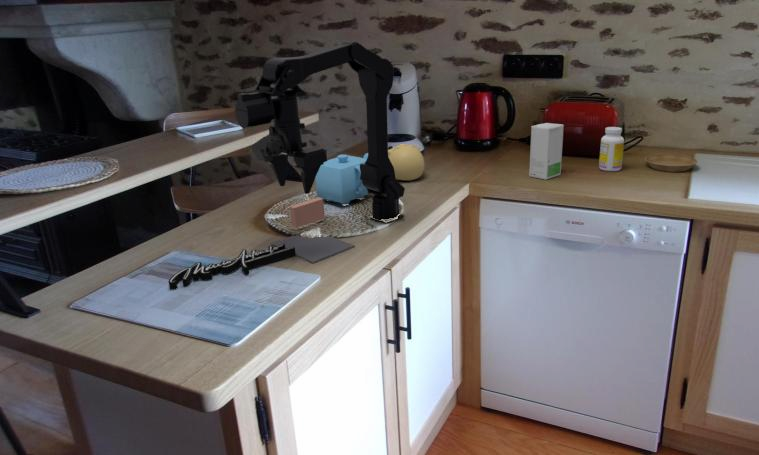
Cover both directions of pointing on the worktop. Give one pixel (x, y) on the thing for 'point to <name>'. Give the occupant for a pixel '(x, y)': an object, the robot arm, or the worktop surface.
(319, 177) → the teapot
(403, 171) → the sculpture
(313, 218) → the card box
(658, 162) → the plant saucer
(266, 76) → the robot arm
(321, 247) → the mat
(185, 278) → the nameplate
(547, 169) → the skincare box
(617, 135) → the supplement bottle
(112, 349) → the worktop surface
